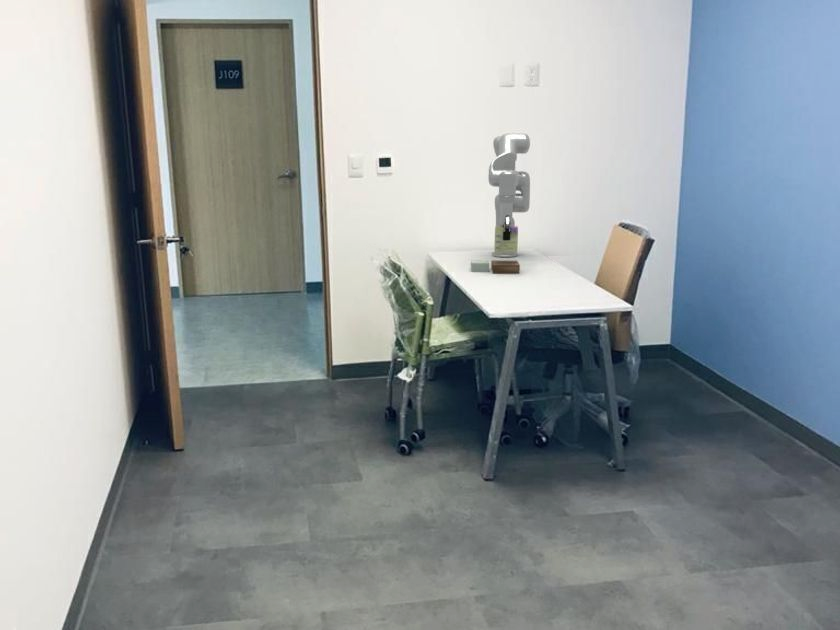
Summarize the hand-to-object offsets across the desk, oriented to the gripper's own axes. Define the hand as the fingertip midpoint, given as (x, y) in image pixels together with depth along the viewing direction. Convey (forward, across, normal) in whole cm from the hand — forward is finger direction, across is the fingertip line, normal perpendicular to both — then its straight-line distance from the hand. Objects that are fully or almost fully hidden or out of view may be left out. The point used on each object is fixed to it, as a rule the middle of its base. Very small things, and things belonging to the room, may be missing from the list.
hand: (506, 238), depth 364 cm
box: (+6, 0, 0) cm, 6 cm away
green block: (+15, -2, -12) cm, 19 cm away
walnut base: (+15, 0, 0) cm, 15 cm away
